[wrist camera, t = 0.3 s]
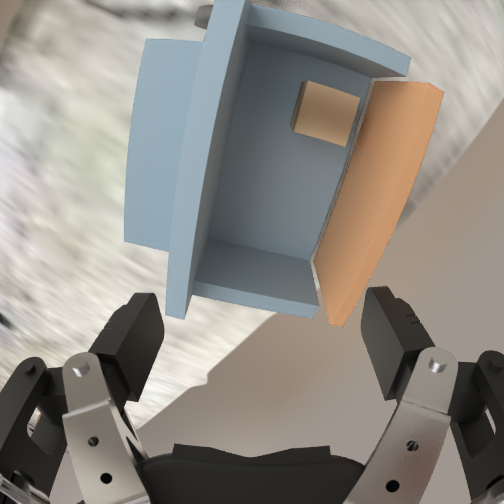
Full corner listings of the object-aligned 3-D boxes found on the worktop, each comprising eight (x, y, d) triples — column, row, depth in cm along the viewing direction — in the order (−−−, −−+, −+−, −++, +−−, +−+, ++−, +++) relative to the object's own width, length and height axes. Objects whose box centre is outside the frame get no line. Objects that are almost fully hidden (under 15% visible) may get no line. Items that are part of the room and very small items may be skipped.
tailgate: (375, 81, 20) (429, 83, 12) (392, 88, 20) (450, 96, 12) (313, 261, 30) (329, 324, 22) (329, 264, 30) (349, 327, 22)
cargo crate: (301, 82, 21) (307, 80, 18) (346, 96, 21) (360, 98, 18) (289, 125, 23) (293, 131, 20) (333, 138, 23) (345, 147, 20)
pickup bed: (199, 15, 22) (141, -41, 8) (359, 52, 23) (439, 29, 10) (162, 227, 35) (108, 315, 22) (295, 256, 37) (308, 358, 23)
